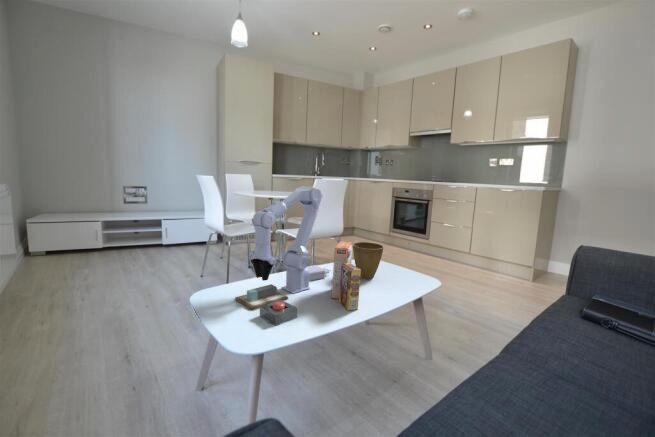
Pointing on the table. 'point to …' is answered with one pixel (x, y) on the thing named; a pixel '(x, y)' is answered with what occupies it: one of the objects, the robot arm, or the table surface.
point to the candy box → (349, 286)
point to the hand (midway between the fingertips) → (262, 278)
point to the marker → (261, 292)
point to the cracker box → (340, 257)
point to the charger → (317, 272)
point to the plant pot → (367, 258)
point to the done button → (278, 306)
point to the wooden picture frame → (260, 300)
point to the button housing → (278, 313)
